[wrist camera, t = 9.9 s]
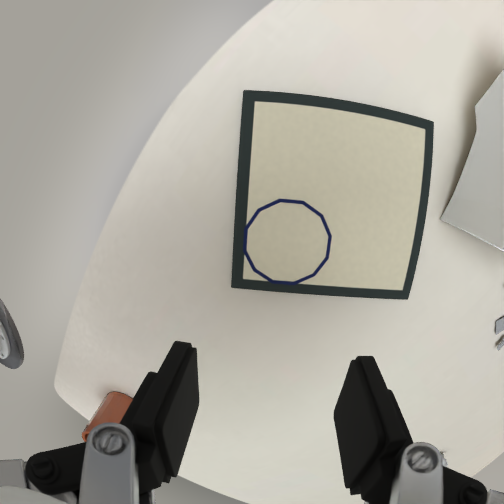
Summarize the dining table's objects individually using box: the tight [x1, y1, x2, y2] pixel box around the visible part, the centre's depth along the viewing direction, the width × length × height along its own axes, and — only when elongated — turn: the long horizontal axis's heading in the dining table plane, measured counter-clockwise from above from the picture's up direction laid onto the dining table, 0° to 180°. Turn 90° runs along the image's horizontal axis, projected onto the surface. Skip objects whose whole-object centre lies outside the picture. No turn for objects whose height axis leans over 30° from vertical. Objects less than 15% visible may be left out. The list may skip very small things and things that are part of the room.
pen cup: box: [82, 392, 133, 442], centre depth 29 cm, size 6×6×8 cm
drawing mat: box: [231, 90, 434, 299], centre depth 23 cm, size 17×17×1 cm
